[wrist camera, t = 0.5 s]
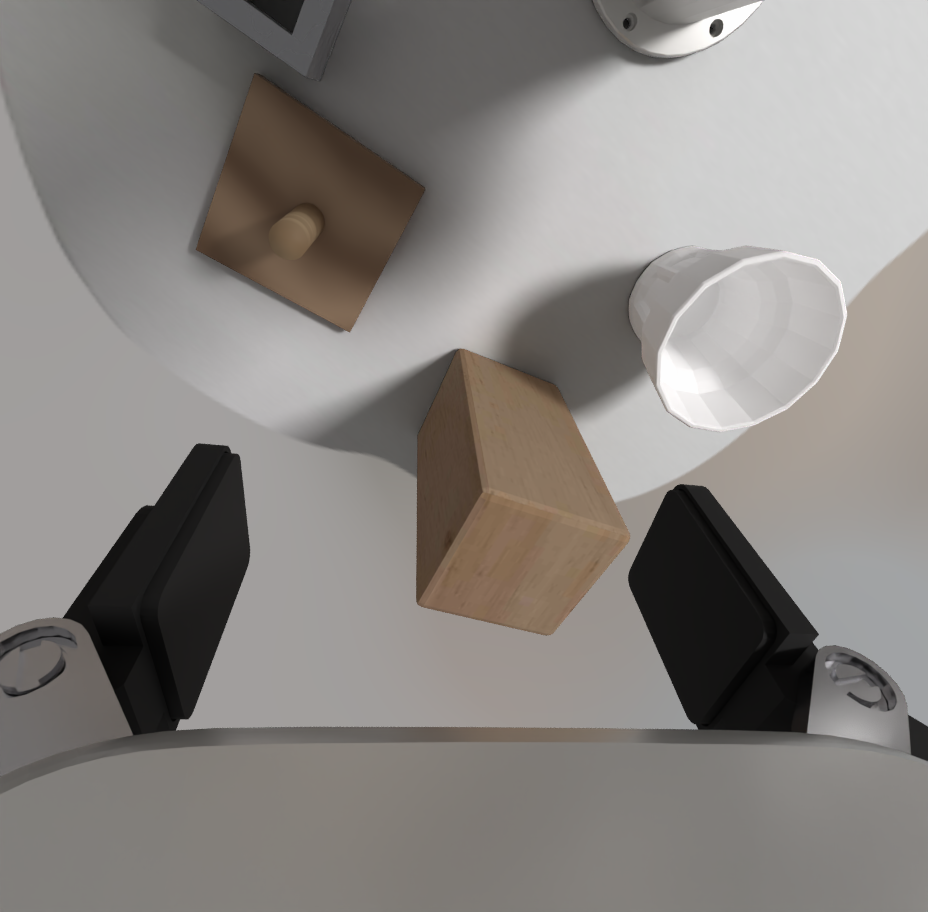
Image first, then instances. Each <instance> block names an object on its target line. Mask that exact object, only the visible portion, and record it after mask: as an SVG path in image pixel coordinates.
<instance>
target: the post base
mask: <svg viewBox="0 0 928 912" xmlns="http://www.w3.org/2000/svg"><path fill="white" fill-rule="evenodd" d="M424 191H425V187H423V186H422V185H420V184H419V183H417V182H416V181H414V180H413V179H411V178H410V177H409V176H407V175H406V174H404V173H403V172H401V171H400V170H398V169H397V168H395V167H394V166H392V165H391V164H390V163H388V162H387V161H385V160H384V159H382V158H381V157H379V156H378V155H376V154H375V153H374V152H372V151H371V150H369V149H368V148H366V147H365V146H363V145H362V144H360V143H359V142H358V141H356V140H355V139H353V138H352V137H350V136H349V135H347V134H346V133H344V132H343V131H342V130H340V129H339V128H337V127H336V126H334V125H333V124H331V123H330V122H328V121H327V120H326V119H324V118H323V117H321V116H320V115H318V114H317V113H315V112H314V111H312V110H311V109H310V108H308V107H307V106H305V105H304V104H302V103H301V102H299V101H298V100H296V99H295V98H294V97H292V96H291V95H289V94H288V93H286V92H285V91H283V90H282V89H280V88H279V87H277V86H276V85H275V84H273V83H272V82H270V81H269V80H267V79H266V78H264V77H263V76H261V75H260V74H256V73H254V76H253V79H252V82H251V85H250V88H249V91H248V94H247V97H246V100H245V103H244V106H243V109H242V112H241V115H240V118H239V121H238V124H237V127H236V130H235V133H234V136H233V139H232V142H231V145H230V148H229V151H228V154H227V157H226V160H225V163H224V166H223V169H222V172H221V175H220V178H219V181H218V184H217V187H216V190H215V193H214V196H213V199H212V202H211V205H210V208H209V211H208V214H207V217H206V220H205V223H204V226H203V229H202V232H201V235H200V238H199V241H198V244H197V247H196V250H197V251H199V252H201V253H203V254H205V255H207V256H208V257H210V258H212V259H214V260H216V261H218V262H220V263H221V264H223V265H225V266H227V267H229V268H231V269H233V270H234V271H236V272H238V273H240V274H242V275H244V276H246V277H247V278H249V279H251V280H253V281H255V282H257V283H259V284H260V285H262V286H264V287H266V288H268V289H270V290H272V291H273V292H275V293H277V294H279V295H281V296H283V297H285V298H287V299H288V300H290V301H292V302H294V303H296V304H298V305H300V306H301V307H303V308H305V309H307V310H309V311H311V312H313V313H314V314H316V315H318V316H320V317H322V318H324V319H326V320H327V321H329V322H331V323H333V324H335V325H337V326H339V327H340V328H342V329H344V330H346V331H348V332H350V331H351V329H352V328H353V326H354V324H355V322H356V320H357V318H358V316H359V314H360V312H361V310H362V309H363V307H364V305H365V303H366V301H367V299H368V297H369V295H370V293H371V292H372V290H373V288H374V286H375V284H376V282H377V280H378V278H379V276H380V274H381V273H382V271H383V269H384V267H385V265H386V263H387V261H388V259H389V257H390V256H391V254H392V252H393V250H394V248H395V246H396V244H397V242H398V240H399V238H400V237H401V235H402V233H403V231H404V229H405V227H406V225H407V223H408V221H409V219H410V218H411V216H412V214H413V212H414V210H415V208H416V206H417V204H418V202H419V201H420V199H421V197H422V195H423V193H424Z"/></svg>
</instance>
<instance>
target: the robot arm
mask: <svg viewBox="0 0 928 912" xmlns="http://www.w3.org/2000/svg"><path fill="white" fill-rule="evenodd" d="M763 1H764V0H593V2H594V5H595V8H596V10H597V11H598V13H599V15H600V16H601V18H602V20H603V22H604V23H605V25H606V27H607V28H608V29H609V30H610V31H611V32H612V33H613V34H614V35H615V36H616V37H617V38H618V40H619V41H620V42H622V43H623V44H625V45H627V46H628V47H630V48H631V49H633V50H634V51H636V52H639V53H642V54H645V55H648V56H651V57H660V58H674V57H681V56H686V55H690V54H693V53H696V52H700V51H703V50H705V49H707V48H709V47H711V46H713V45H715V44H717V43H719V42H721V41H722V40H724V39H725V38H726V37H728V36H729V35H730V34H731V33H733V32H734V31H735V30H736V29H738V28H739V27H740V26H742V24H743V23H744V22H745V21H746V20H747V19H748V18H749V17H750V16H751V15H752V14H753V13H754V12H755V11H756V10H757V9H758V8H759V6H760V5H761V3H762V2H763ZM625 19H628V21H629V26H628V28H627V29H625V28H624V27H623V21H624V20H625ZM710 25H712V26H713V31H712V33H711V34H710V33H709V27H710ZM249 558H250V544H249V535H248V526H247V516H246V508H245V498H244V489H243V480H242V471H241V461H240V456H239V455H238V454H232V453H231V450H230V448H229V447H228V446H223V445H210V444H196V445H195V446H194V448H193V449H192V450H191V452H190V454H189V455H188V456H187V458H186V459H185V461H184V463H183V464H182V465H181V467H180V469H179V470H178V471H177V473H176V474H175V476H174V477H173V479H172V480H171V482H170V484H169V485H168V486H167V488H166V489H165V491H164V492H163V494H162V496H161V497H160V498H159V500H158V501H157V503H156V504H155V506H147V505H146V506H144V507H142V508H141V509H140V510H139V511H138V512H137V513H136V514H135V516H134V517H133V519H132V520H131V521H130V523H129V524H128V526H127V527H126V529H125V530H124V531H123V533H122V534H121V536H120V537H119V539H118V540H117V541H116V543H115V544H114V546H113V547H112V548H111V550H110V551H109V553H108V554H107V556H106V557H105V558H104V560H103V561H102V563H101V564H100V566H99V567H98V568H97V570H96V571H95V573H94V574H93V575H92V577H91V578H90V580H89V581H88V583H87V584H86V586H85V587H84V588H83V590H82V591H81V593H80V594H79V596H78V597H77V598H76V600H75V601H74V603H73V604H72V605H71V607H70V608H69V610H68V611H67V613H66V614H65V615H64V617H63V618H54V617H53V618H45V619H37V620H33V621H30V622H27V623H24V624H20V625H17V626H15V627H13V628H11V629H9V630H7V631H5V632H3V633H1V634H0V912H928V727H927V726H926V725H924V724H923V723H921V722H919V721H917V720H916V719H914V718H913V717H911V716H909V715H908V708H907V703H906V700H905V696H904V694H903V693H902V691H901V690H900V688H899V686H898V685H897V683H896V682H895V681H894V680H893V679H892V678H891V677H890V676H889V675H888V673H887V672H885V671H884V670H883V669H881V667H879V666H878V665H877V664H875V663H874V662H873V661H871V660H870V659H868V658H866V657H865V656H863V655H862V654H860V653H857V652H855V651H853V650H850V649H848V648H845V647H840V646H836V645H833V646H825V647H823V648H821V649H819V650H818V649H817V648H816V646H815V645H814V644H813V641H814V640H815V638H816V637H817V636H818V635H819V634H818V633H817V631H816V630H815V629H814V627H813V626H812V625H811V623H810V622H809V621H808V619H807V618H806V617H805V616H804V614H803V613H802V612H801V610H800V609H799V608H798V606H797V605H796V604H795V602H794V601H793V600H792V598H791V597H790V596H789V595H788V593H787V592H786V591H785V589H784V588H783V587H782V585H781V584H780V583H779V582H778V580H777V579H776V578H775V576H774V575H773V574H772V572H771V571H770V570H769V568H768V567H767V566H766V564H765V563H764V562H763V560H762V559H761V558H760V557H759V555H758V554H757V553H756V551H755V550H754V549H753V547H752V546H751V545H750V543H749V542H748V541H747V540H746V538H745V537H744V536H743V534H742V533H741V532H740V530H739V529H738V528H737V527H736V525H735V524H734V522H733V521H732V520H731V519H730V517H729V516H728V515H727V513H726V512H725V511H724V510H723V508H722V507H721V505H720V504H719V503H718V502H717V500H716V499H715V498H714V496H713V495H712V494H711V492H710V491H709V490H708V489H707V488H706V487H703V486H695V485H684V484H680V485H677V486H676V487H675V488H674V489H673V490H670V491H668V492H667V494H666V495H665V497H664V499H663V502H662V504H661V506H660V508H659V510H658V512H657V514H656V516H655V518H654V520H653V522H652V525H651V527H650V529H649V531H648V533H647V535H646V537H645V539H644V542H643V543H642V546H641V548H640V550H639V552H638V554H637V556H636V558H635V560H634V562H633V564H632V567H631V569H630V571H629V575H628V581H629V586H630V589H631V591H632V593H633V595H634V597H635V600H636V602H637V604H638V607H639V609H640V611H641V614H642V616H643V618H644V620H645V622H646V625H647V627H648V629H649V632H650V634H651V636H652V638H653V641H654V643H655V645H656V647H657V650H658V652H659V654H660V656H661V659H662V661H663V663H664V666H665V668H666V670H667V672H668V674H669V677H670V679H671V681H672V684H673V686H674V688H675V690H676V693H677V695H678V697H679V699H680V702H681V704H682V706H683V708H684V711H685V713H686V715H687V717H688V719H689V720H690V721H691V722H692V723H694V724H696V726H697V727H698V730H689V729H686V730H685V729H613V728H605V729H604V728H497V727H495V728H494V727H493V728H492V727H487V728H486V727H482V728H481V727H272V728H271V727H265V728H211V729H194V730H177V731H176V728H177V726H178V723H179V721H180V719H189V718H190V716H191V715H192V713H193V711H194V708H195V706H196V703H197V700H198V697H199V695H200V692H201V689H202V687H203V684H204V682H205V679H206V676H207V673H208V671H209V668H210V666H211V663H212V660H213V658H214V655H215V652H216V650H217V647H218V644H219V641H220V639H221V636H222V634H223V631H224V628H225V625H226V623H227V620H228V618H229V615H230V613H231V610H232V607H233V605H234V601H235V599H236V597H237V594H238V591H239V588H240V586H241V583H242V581H243V578H244V575H245V572H246V570H247V567H248V564H249Z"/></svg>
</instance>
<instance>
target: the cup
mask: <svg viewBox="0 0 928 912" xmlns="http://www.w3.org/2000/svg"><path fill="white" fill-rule="evenodd" d="M846 318H847V311H846V306H845V300H844V294H843V289H842V283H841V281H840V280H839V279H838V278H837V277H836V276H835V275H834V274H833V273H832V272H831V271H830V270H829V269H828V268H827V267H826V266H825V265H824V264H823V263H822V262H821V261H820V260H819V259H815V258H811V257H807V256H803V255H799V254H795V253H791V252H787V251H783V250H775V249H768V248H760V247H752V246H741V247H736V248H731V249H727V250H711V249H705V248H701V247H697V246H688V247H683V248H679V249H675V250H672V251H670V252H668V253H666V254H664V255H662V256H661V257H659V258H658V259H656V260H655V261H653V262H652V263H651V264H650V265H649V266H648V267H647V268H646V270H645V271H644V272H643V273H642V275H641V276H640V277H639V279H638V280H637V282H636V284H635V286H634V288H633V291H632V293H631V296H630V299H629V320H630V322H631V325H632V328H633V330H634V332H635V334H636V336H637V337H638V338H639V339H640V341H641V343H642V360H643V363H644V365H645V367H646V369H647V372H648V374H649V376H650V378H651V380H652V383H653V385H654V387H655V389H656V391H657V393H658V395H659V397H660V399H661V401H662V403H663V405H664V407H665V409H666V411H667V412H668V413H670V414H671V415H673V416H674V417H676V418H677V419H678V420H680V421H681V422H683V423H684V424H686V425H687V426H689V427H692V428H698V429H704V430H710V431H716V432H723V431H728V430H733V429H738V428H743V427H748V426H753V425H756V424H758V423H760V422H762V421H764V420H766V419H768V418H770V417H772V416H774V415H776V414H778V413H780V412H782V411H784V410H786V409H788V408H789V407H790V406H791V405H792V404H793V403H794V402H795V401H797V400H798V399H799V398H800V397H801V396H802V395H803V394H805V393H806V392H807V391H808V390H809V389H810V388H811V387H813V386H814V385H815V384H816V383H817V381H818V380H819V378H820V377H821V376H822V374H823V373H824V371H825V370H826V368H827V367H828V365H829V364H830V362H831V361H832V359H833V357H834V356H835V354H836V353H837V352H838V349H839V345H840V341H841V337H842V333H843V329H844V326H845V322H846Z"/></svg>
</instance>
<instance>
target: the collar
mask: <svg viewBox="0 0 928 912" xmlns="http://www.w3.org/2000/svg"><path fill="white" fill-rule="evenodd" d="M197 1H199V2H200V3H201V4H203V5H204V6H206V7H207V8H208V9H210V10H211V11H213V12H214V13H215V14H217V15H218V16H220V17H221V18H223V19H224V20H225V21H227V22H228V23H230V24H231V25H232V26H234V27H235V28H237V29H238V30H239V31H241V32H242V33H244V34H245V35H247V36H248V37H249V38H251V39H252V40H254V41H255V42H256V43H258V44H259V45H261V46H262V47H264V48H265V49H266V50H268V51H269V52H271V53H272V54H273V55H275V56H276V57H278V58H279V59H280V60H282V61H283V62H285V63H286V64H288V65H289V66H290V67H292V68H293V69H295V70H296V71H297V72H299V73H300V74H302V75H303V76H304V77H307V78H310V79H314V80H318V81H320V80H321V77H322V75H323V72H324V70H325V67H326V64H327V62H328V59H329V57H330V54H331V52H332V49H333V47H334V44H335V41H336V39H337V36H338V34H339V31H340V29H341V26H342V24H343V21H344V18H345V16H346V13H347V11H348V8H349V6H350V3H351V0H304V3H303V5H302V8H301V11H300V14H299V17H298V20H297V22H296V25H295V28H294V31H293V33H292V32H290V31H289V30H288V29H286V28H285V27H284V26H282V25H281V24H279V23H278V22H277V21H275V20H274V19H273V18H271V17H270V16H269V15H267V14H266V13H264V12H263V11H262V10H260V9H259V8H258V7H256V6H255V5H254V4H252V3H251V2H249V1H248V0H197Z"/></svg>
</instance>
